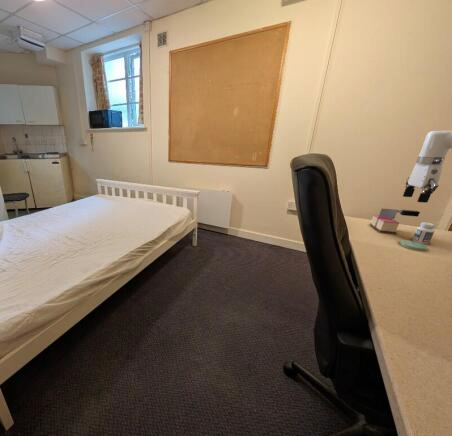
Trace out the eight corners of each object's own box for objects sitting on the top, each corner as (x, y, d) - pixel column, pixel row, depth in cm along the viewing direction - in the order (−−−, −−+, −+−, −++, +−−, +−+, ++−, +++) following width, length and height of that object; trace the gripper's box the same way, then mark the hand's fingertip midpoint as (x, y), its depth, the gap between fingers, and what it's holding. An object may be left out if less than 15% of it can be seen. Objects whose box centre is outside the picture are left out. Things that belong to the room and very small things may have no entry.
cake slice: (384, 224, 118) (387, 216, 117) (389, 227, 114) (392, 218, 113) (370, 223, 120) (373, 214, 119) (374, 226, 116) (377, 217, 115)
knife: (413, 220, 110) (417, 210, 108) (415, 221, 108) (420, 212, 107) (377, 216, 115) (380, 207, 113) (379, 218, 113) (382, 209, 111)
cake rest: (390, 228, 113) (394, 219, 112) (395, 232, 109) (399, 222, 108) (375, 227, 115) (379, 218, 114) (380, 230, 111) (383, 221, 110)
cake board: (384, 226, 119) (384, 224, 118) (395, 234, 109) (396, 232, 109) (369, 224, 121) (370, 223, 121) (379, 232, 112) (380, 230, 111)
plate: (418, 243, 99) (419, 241, 99) (431, 252, 92) (432, 249, 92) (395, 241, 102) (396, 238, 102) (406, 249, 95) (407, 246, 95)
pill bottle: (430, 242, 101) (438, 224, 98) (427, 245, 98) (436, 226, 95) (413, 238, 105) (420, 220, 102) (410, 240, 102) (418, 223, 99)
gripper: (459, 163, 86) (440, 205, 92) (426, 159, 101) (411, 195, 107) (433, 163, 88) (417, 203, 94) (405, 159, 104) (392, 194, 110)
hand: (414, 199), depth 101 cm, fingers open, 9 cm apart
